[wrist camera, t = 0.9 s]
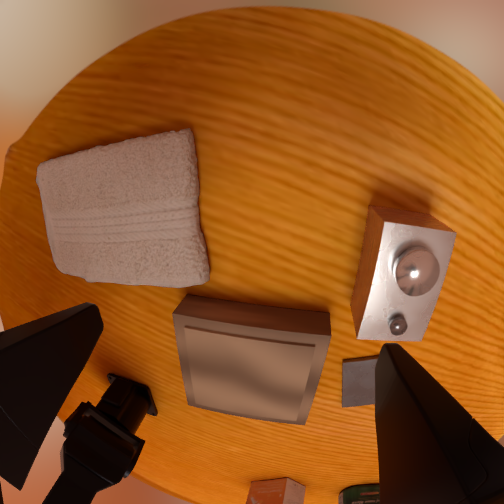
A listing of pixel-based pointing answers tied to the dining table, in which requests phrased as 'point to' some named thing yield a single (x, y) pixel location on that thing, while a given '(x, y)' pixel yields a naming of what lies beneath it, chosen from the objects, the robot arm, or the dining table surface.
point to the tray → (251, 357)
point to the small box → (276, 492)
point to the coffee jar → (360, 495)
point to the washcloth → (127, 212)
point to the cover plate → (359, 381)
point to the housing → (399, 274)
